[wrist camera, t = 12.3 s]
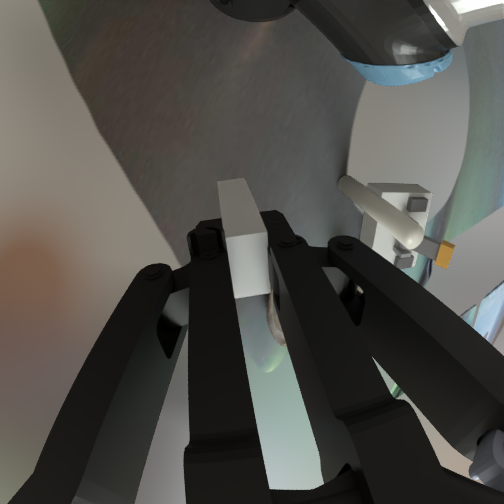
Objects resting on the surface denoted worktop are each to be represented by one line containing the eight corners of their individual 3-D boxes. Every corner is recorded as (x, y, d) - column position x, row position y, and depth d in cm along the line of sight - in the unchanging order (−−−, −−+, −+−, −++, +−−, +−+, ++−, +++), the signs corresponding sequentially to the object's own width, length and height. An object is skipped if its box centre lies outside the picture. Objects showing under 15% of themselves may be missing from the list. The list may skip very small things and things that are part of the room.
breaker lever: (401, 226, 47) (452, 249, 40) (404, 223, 48) (455, 245, 41) (396, 246, 49) (446, 269, 42) (400, 243, 50) (448, 264, 43)
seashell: (300, 265, 50) (275, 351, 47) (337, 283, 57) (316, 356, 54) (265, 261, 57) (242, 336, 54) (303, 278, 64) (283, 344, 61)
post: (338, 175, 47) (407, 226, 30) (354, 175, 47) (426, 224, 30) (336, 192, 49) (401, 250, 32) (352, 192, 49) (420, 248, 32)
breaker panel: (367, 183, 49) (391, 199, 42) (417, 184, 50) (442, 199, 43) (355, 259, 57) (374, 282, 50) (402, 254, 58) (422, 274, 51)
